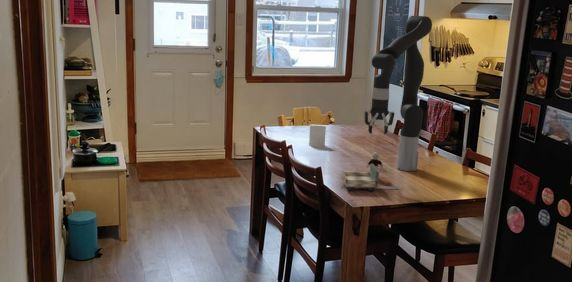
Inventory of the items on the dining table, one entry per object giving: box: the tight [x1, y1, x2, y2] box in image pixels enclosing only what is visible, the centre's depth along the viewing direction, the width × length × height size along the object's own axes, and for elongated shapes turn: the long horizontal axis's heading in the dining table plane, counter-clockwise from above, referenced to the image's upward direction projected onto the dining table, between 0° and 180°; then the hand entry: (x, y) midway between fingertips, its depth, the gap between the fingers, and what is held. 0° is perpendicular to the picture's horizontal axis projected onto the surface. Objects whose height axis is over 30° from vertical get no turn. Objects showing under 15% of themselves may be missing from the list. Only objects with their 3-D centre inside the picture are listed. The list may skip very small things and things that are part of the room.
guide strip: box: [339, 184, 400, 190], centre depth 262 cm, size 26×3×1 cm, turn 93°
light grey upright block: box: [308, 123, 327, 149], centre depth 335 cm, size 9×9×12 cm
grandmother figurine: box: [366, 151, 384, 171], centre depth 276 cm, size 8×4×13 cm, turn 105°
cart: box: [341, 164, 380, 193], centre depth 261 cm, size 14×13×9 cm
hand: (377, 133), depth 272 cm, fingers open, 6 cm apart
